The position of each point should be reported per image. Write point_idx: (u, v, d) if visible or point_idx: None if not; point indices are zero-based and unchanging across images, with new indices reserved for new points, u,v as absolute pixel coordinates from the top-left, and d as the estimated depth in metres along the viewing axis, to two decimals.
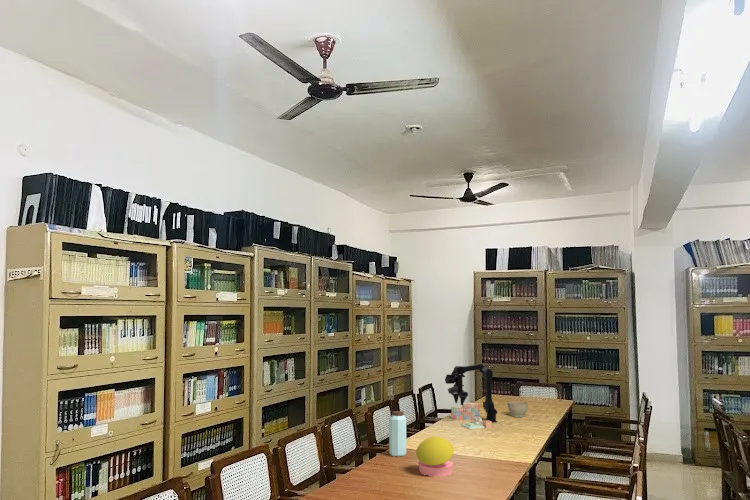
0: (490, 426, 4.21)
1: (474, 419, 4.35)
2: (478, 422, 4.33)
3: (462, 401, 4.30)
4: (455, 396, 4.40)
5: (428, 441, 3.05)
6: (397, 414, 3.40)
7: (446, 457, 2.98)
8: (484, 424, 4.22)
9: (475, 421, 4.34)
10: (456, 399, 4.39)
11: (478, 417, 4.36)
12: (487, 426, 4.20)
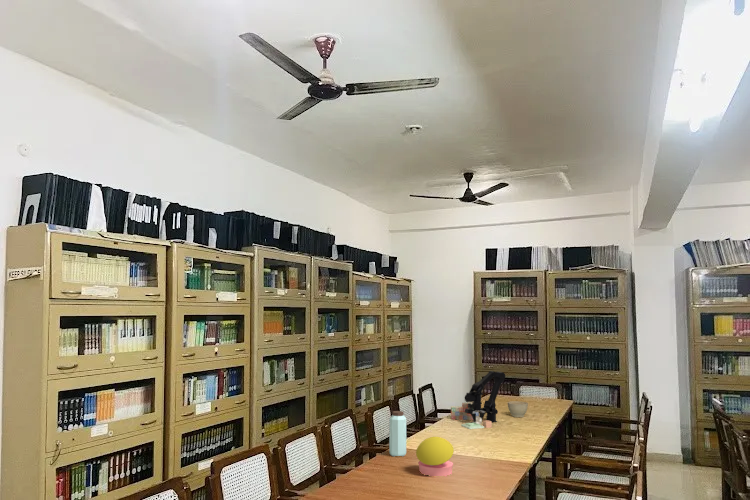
0: (490, 426, 4.21)
1: None
2: (478, 422, 4.33)
3: (473, 418, 4.35)
4: (480, 415, 4.37)
5: (428, 441, 3.05)
6: (397, 414, 3.40)
7: (446, 457, 2.98)
8: (484, 424, 4.22)
9: (475, 421, 4.34)
10: None
11: (478, 417, 4.36)
12: (487, 426, 4.20)
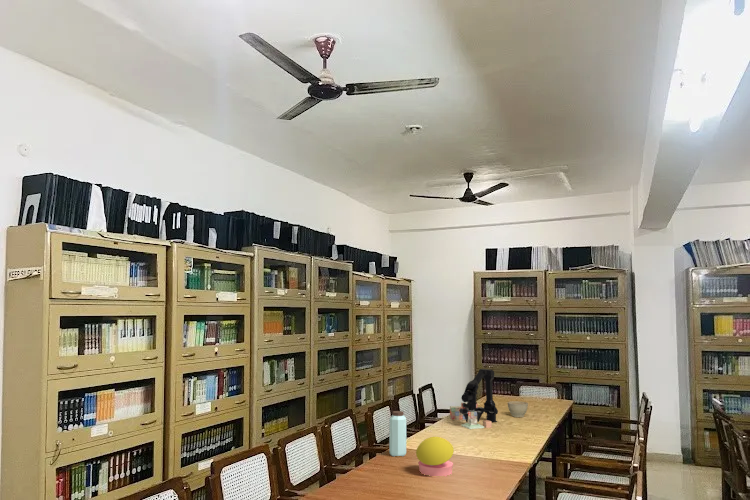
0: (490, 426, 4.21)
1: (469, 420, 4.23)
2: (473, 424, 4.21)
3: (465, 418, 4.21)
4: (478, 414, 4.26)
5: (428, 441, 3.05)
6: (397, 414, 3.40)
7: (446, 456, 2.98)
8: (484, 424, 4.22)
9: (470, 423, 4.21)
10: (478, 417, 4.25)
11: (473, 418, 4.24)
12: (487, 426, 4.20)
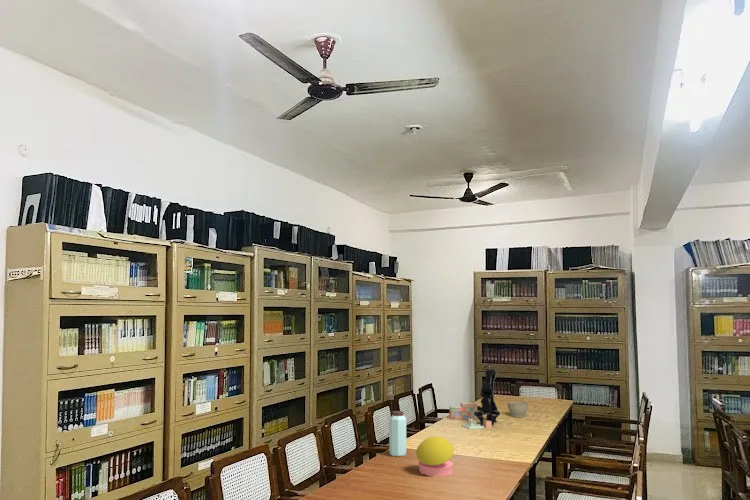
0: (490, 426, 4.21)
1: (469, 420, 4.23)
2: (473, 424, 4.21)
3: (480, 421, 4.21)
4: (492, 418, 4.25)
5: (428, 441, 3.05)
6: (397, 414, 3.40)
7: (446, 456, 2.98)
8: (484, 424, 4.22)
9: (470, 423, 4.21)
10: (492, 421, 4.24)
11: (473, 418, 4.24)
12: (487, 426, 4.20)
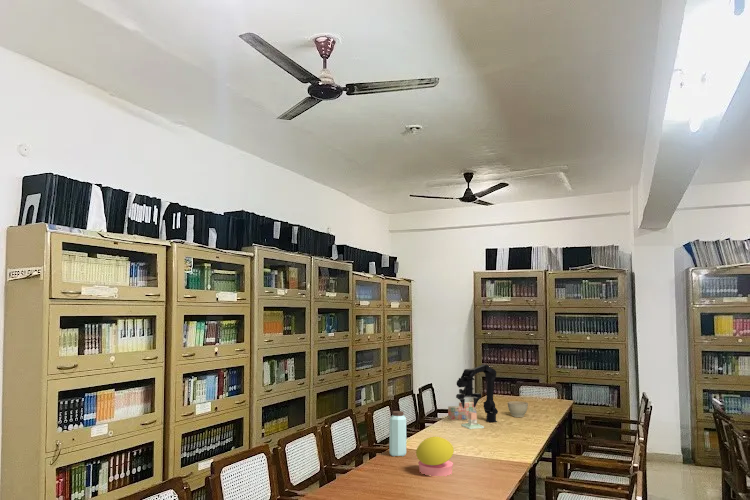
0: (475, 418, 4.22)
1: (469, 420, 4.23)
2: (473, 424, 4.21)
3: (462, 404, 4.27)
4: (474, 400, 4.31)
5: (428, 441, 3.05)
6: (397, 414, 3.40)
7: (446, 456, 2.98)
8: (469, 416, 4.23)
9: (470, 423, 4.21)
10: (474, 403, 4.30)
11: None
12: (472, 418, 4.21)
